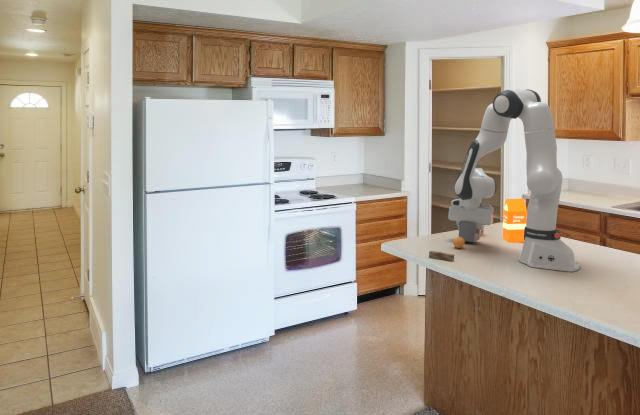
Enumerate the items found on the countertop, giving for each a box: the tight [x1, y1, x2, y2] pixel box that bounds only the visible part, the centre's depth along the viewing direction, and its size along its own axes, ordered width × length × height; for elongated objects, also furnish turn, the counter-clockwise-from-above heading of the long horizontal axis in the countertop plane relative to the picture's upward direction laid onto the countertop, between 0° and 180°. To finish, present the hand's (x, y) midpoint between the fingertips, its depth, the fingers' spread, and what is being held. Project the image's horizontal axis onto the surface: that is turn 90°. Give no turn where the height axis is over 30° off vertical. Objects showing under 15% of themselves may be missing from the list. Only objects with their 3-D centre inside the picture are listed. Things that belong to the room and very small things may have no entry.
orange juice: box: [502, 198, 527, 243], centre depth 250 cm, size 8×9×20 cm
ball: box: [452, 236, 466, 249], centre depth 234 cm, size 5×5×5 cm
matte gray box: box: [458, 221, 481, 243], centre depth 244 cm, size 7×7×9 cm
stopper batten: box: [428, 250, 455, 262], centre depth 216 cm, size 10×2×2 cm, turn 56°
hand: (469, 231), depth 244 cm, fingers closed on matte gray box, 7 cm apart
